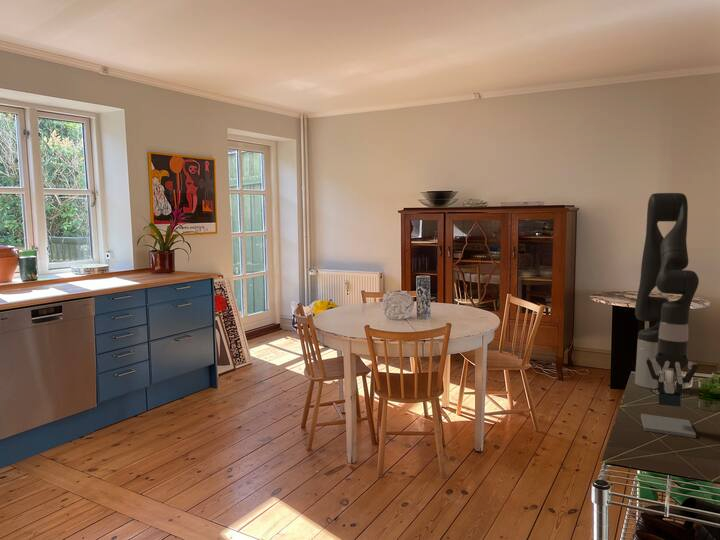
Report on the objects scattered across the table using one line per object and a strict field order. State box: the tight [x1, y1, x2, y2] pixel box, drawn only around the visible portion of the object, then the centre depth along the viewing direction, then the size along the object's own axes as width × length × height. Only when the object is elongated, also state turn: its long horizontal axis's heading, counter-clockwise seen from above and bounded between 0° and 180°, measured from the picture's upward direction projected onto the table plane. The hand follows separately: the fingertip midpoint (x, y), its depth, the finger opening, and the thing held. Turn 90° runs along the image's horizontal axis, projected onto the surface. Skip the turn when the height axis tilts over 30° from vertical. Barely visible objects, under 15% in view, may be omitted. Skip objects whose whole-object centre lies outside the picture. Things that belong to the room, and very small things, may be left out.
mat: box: [640, 413, 697, 439], centre depth 162 cm, size 12×13×1 cm
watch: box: [658, 368, 682, 407], centre depth 160 cm, size 6×8×11 cm
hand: (669, 394), depth 161 cm, fingers closed on watch, 3 cm apart
